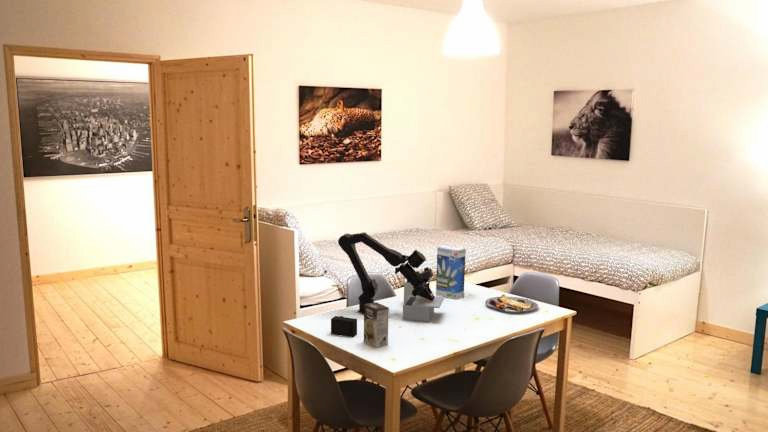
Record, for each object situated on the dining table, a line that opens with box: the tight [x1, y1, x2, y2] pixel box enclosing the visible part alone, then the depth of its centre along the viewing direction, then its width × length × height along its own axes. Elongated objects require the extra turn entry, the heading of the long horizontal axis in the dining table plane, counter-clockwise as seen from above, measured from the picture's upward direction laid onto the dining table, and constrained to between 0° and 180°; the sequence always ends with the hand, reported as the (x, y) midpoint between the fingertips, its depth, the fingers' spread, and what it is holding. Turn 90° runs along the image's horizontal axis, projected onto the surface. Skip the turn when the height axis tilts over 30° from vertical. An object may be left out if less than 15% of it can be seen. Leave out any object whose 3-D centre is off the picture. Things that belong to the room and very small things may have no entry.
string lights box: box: [435, 244, 467, 300], centre depth 334 cm, size 13×8×26 cm, turn 50°
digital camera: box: [330, 315, 358, 338], centre depth 275 cm, size 10×5×7 cm, turn 68°
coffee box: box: [363, 301, 390, 349], centre depth 262 cm, size 9×6×16 cm
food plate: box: [485, 294, 539, 313], centre depth 317 cm, size 25×23×4 cm
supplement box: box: [403, 278, 417, 304], centre depth 318 cm, size 7×7×13 cm
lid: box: [412, 293, 445, 309], centre depth 298 cm, size 12×16×4 cm
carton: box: [402, 296, 435, 323], centre depth 300 cm, size 12×16×7 cm
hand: (433, 299), depth 298 cm, fingers closed on lid, 3 cm apart
